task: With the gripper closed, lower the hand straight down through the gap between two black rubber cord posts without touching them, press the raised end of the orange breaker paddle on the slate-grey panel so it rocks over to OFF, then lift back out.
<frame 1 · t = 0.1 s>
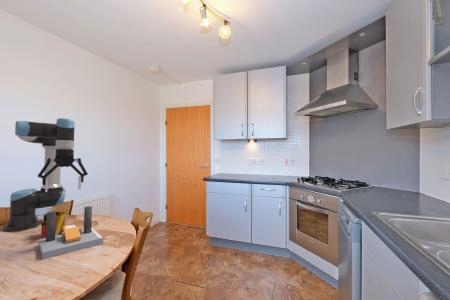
hand: (63, 190, 107), 28 cm above the table, fingers open, 13 cm apart
panel: (71, 244, 108), on the table
cord post b: (87, 232, 117), point 3 cm above the table, touching panel
mug: (53, 236, 118), on the table
cord post a: (50, 240, 105), point 3 cm above the table, touching panel
paddle: (71, 232, 108), point 6 cm above the table, hinge at 18.0°
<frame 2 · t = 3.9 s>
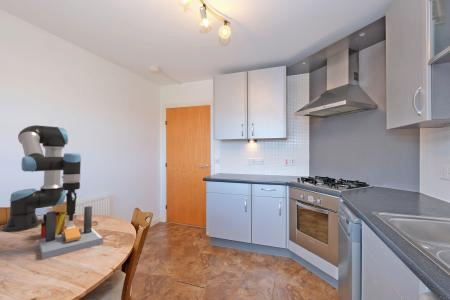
hand: (70, 226, 111), 8 cm above the table, fingers closed
paddle: (71, 232, 108), point 6 cm above the table, hinge at 15.2°, touching gripper
everything else where it was.
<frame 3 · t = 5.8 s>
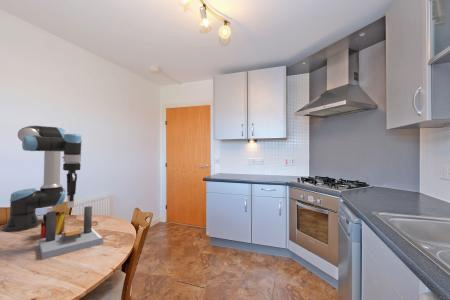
hand: (70, 207, 112), 18 cm above the table, fingers closed
paddle: (71, 232, 108), point 6 cm above the table, hinge at -14.2°
everything else where it was.
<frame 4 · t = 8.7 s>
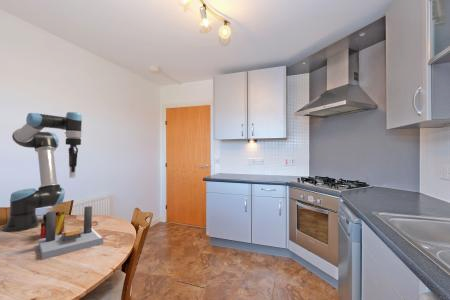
hand: (72, 177, 126), 32 cm above the table, fingers closed
nothing on the table moved.
at the end: paddle at -14° (first picture: +18°); cord post a moved 0.0 cm from its start; cord post b moved 0.0 cm from its start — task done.
